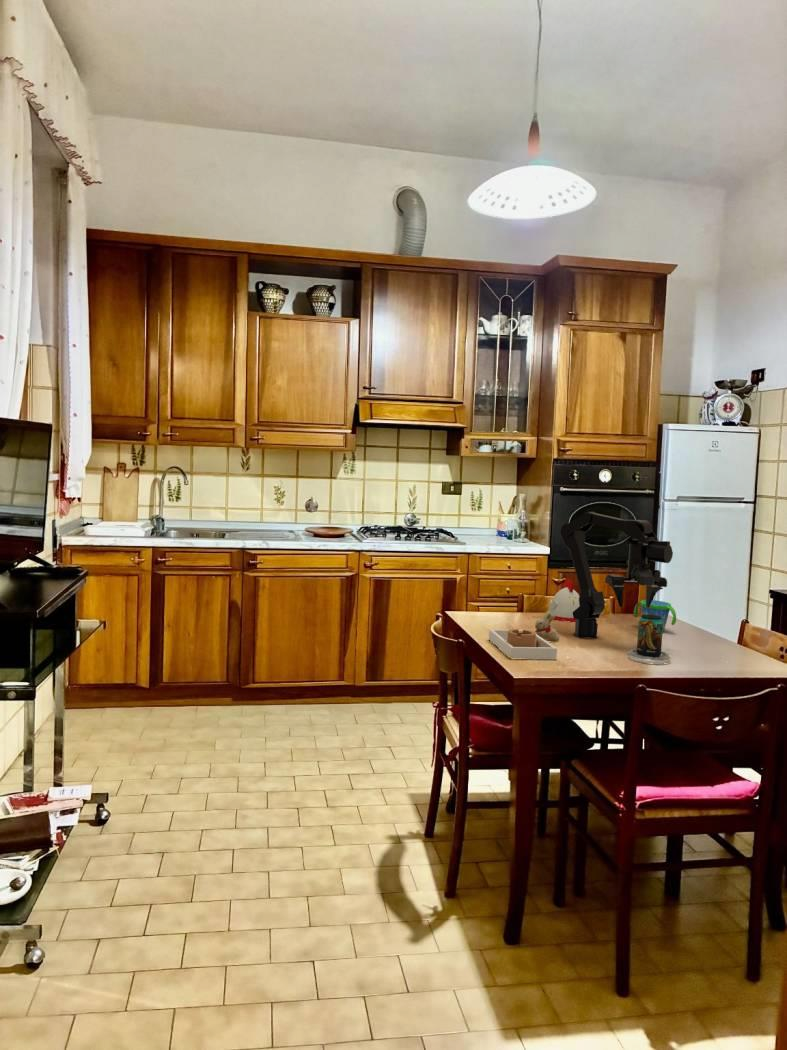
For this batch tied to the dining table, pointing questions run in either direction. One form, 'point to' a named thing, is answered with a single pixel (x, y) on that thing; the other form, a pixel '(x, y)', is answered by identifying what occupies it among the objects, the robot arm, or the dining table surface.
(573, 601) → the kitchen timer
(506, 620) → the dining table surface
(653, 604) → the snack cup
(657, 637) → the beverage can
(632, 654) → the shallow metal dish
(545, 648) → the gray rectangular tray
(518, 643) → the bracket
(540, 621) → the chocolate bunny
